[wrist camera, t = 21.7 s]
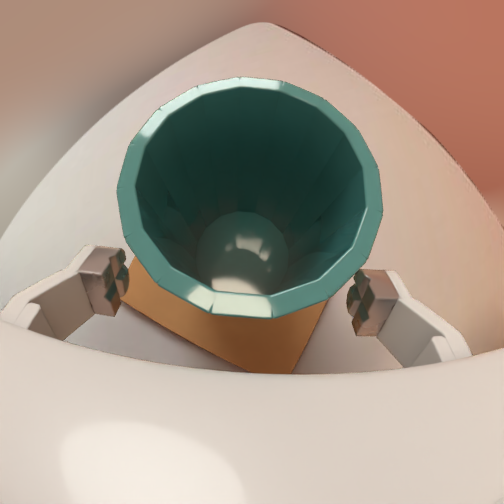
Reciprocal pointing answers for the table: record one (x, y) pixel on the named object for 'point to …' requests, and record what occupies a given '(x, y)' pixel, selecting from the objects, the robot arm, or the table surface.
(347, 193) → the cup
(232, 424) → the robot arm
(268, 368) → the mat
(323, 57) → the table surface
